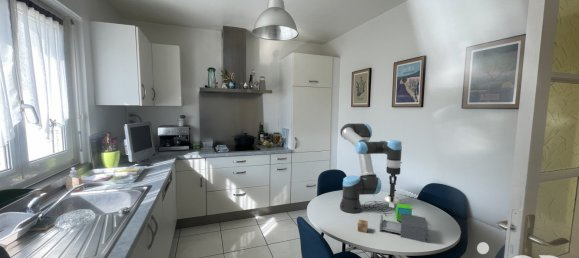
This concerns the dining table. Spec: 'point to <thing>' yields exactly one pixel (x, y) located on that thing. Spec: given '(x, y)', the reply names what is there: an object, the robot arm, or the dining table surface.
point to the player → (414, 227)
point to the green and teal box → (402, 210)
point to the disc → (394, 200)
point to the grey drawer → (390, 226)
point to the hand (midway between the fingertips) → (391, 204)
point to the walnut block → (362, 226)
